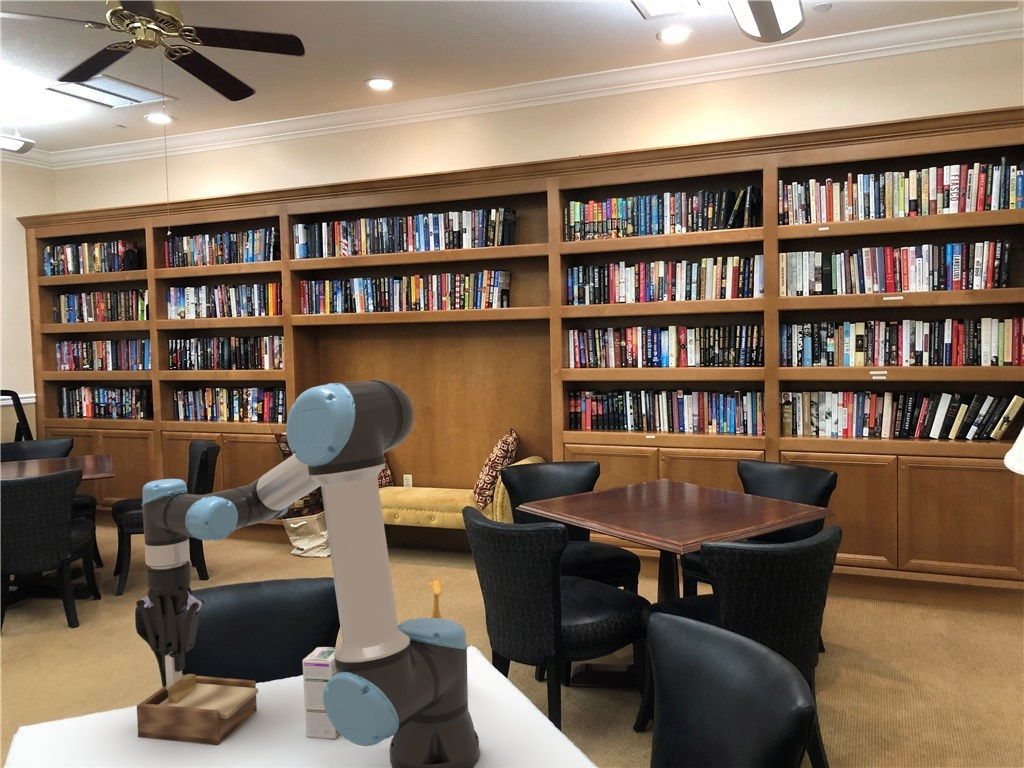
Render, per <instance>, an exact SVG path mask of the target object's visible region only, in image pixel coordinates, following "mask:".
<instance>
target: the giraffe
mask: <svg viewBox="0 0 1024 768" xmlns="http://www.w3.org/2000/svg"><path fill="white" fill-rule="evenodd" d="M439 578H440V577H439V576H437V579H435V576H433V578H432V582H428V585H429V586H430V587H431V589H432V592H433V607H432V612H431V614H430V615H428V616H427V618H440V619H443V617H442V614H441V612H440V611H441V609H440V601H439V598H440V597H439V596H441V595H442V594H443V592H442V590H443V589H442V588H443V586H444V585H445V581H441V582H440V579H439Z"/></svg>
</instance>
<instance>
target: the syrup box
mask: <svg viewBox="0 0 1024 768" xmlns="http://www.w3.org/2000/svg"><path fill="white" fill-rule="evenodd" d="M337 648H338V647H335V646H333V647H332V646H331V647H330V646H321V647H320V646H317V647H316V648H315V649H314V650H313V651H312V652H310V653H309V654H308V655H307V656H305V657H304V658H303V659H302V679H303V692H304V693H303V695H304V698H303V699H304V712H305V715H304V716H305V732H306V737H309V738H315V739H326V740H336V739H337V737H338V736H339V735H341V734H340V732H339V731H337V730H336V729H335V728H334V726H333V725H332V723H331V722H330V720H329V718H328V716H327V714H326V711H325V707H324V702H323V693H324V688H325V686H326V685H327V682H328V681H329V680H330V678H331V677H332V676H334V675H335V674H336V667H335V658H334V652H335V651H336V649H337Z"/></svg>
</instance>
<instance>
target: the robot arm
mask: <svg viewBox="0 0 1024 768" xmlns="http://www.w3.org/2000/svg"><path fill="white" fill-rule="evenodd" d="M414 423H415V409H414V404H413V402H412V400H411V398H410V396H409V395H408V393H407V392H406V391H405V390H404V389H403V388H401V387H400V386H398V384H395V383H393V382H390V381H387V380H383V379H372V380H371V379H370V380H369V379H368V380H365V381H364V380H363V381H349V382H347V381H346V382H334V383H333V382H332V383H331V382H330V383H327V384H321V385H318V386H313V387H310V388H308V389H305V391H303V392H302V393H301V394H299V396H298V397H296V399H295V402H294V404H292V405H291V407H290V409H289V412H288V415H287V420H286V426H285V427H286V430H285V431H286V432H285V433H286V440H287V444H288V447H289V449H290V452H291V453H293V454H292V455H291V456H289V457H288V458H286V459H285V460H284V461H282V462H281V463H279V464H278V465H276V466H274V467H273V468H271V469H270V470H269V471H268V472H266V473H264V474H262V476H261V477H258V478H257V479H255V480H254V481H253V482H251V483H249V484H247V485H243V486H237V487H234V488H229V489H225V490H220V491H216V492H211V493H206V494H191V493H188V488H187V483H186V481H184V479H181V478H180V479H179V478H166V479H163V478H162V479H155V480H152V481H148V482H147V483H145V484H144V485H143V487H142V503H141V507H142V509H141V510H142V521H143V523H142V524H143V533H144V534H143V535H144V554H145V558H144V560H145V565H147V567H146V569H145V570H146V571H145V573H146V585H147V587H148V590H147V595H146V596H145V597H143V598H141V599H139V600H137V601H136V606H137V608H138V610H139V612H141V616H142V621H143V623H144V627H145V631H146V634H147V637H148V642H149V645H150V646H149V647H150V650H151V651H153V652H158V653H160V655H161V666H162V667H161V669H162V671H165V681H166V685H165V686H167V690H168V688H169V687H170V686H172V685H173V684H174V683H176V682H177V681H179V680H180V679H182V675H183V670H184V669H185V668H186V661H185V660H186V658H185V657H186V656H185V655H186V654H185V653H187V652H188V651H191V649H193V648H194V647H195V644H196V638H197V631H198V626H199V620H200V615H201V610H202V609H203V607H204V605H205V603H206V602H205V600H204V599H202V598H200V599H199V600H198V599H197V598H196V597H195V596H193V591H192V589H191V586H190V584H191V581H192V575H191V574H192V573H191V570H192V569H191V568H192V567H191V562H189V560H190V558H191V555H190V539H189V538H193V539H198V540H200V541H205V542H206V541H207V542H208V541H209V542H210V541H217V542H218V541H222V540H225V539H226V538H228V536H229V535H231V534H232V533H233V532H234V531H235V530H238V529H241V528H245V527H248V526H252V525H257V524H260V523H263V522H269V521H272V520H275V519H277V518H279V517H282V516H284V515H286V514H287V512H288V511H289V508H290V506H291V505H293V504H294V503H296V502H297V501H299V500H300V499H302V498H303V497H305V496H307V495H309V494H310V493H312V492H313V491H315V490H316V489H318V488H319V487H321V488H320V490H321V496H322V497H321V498H322V504H323V510H324V517H325V524H326V530H327V531H326V532H327V537H328V538H327V540H328V546H329V554H330V555H329V556H330V561H331V567H332V574H333V583H334V589H335V597H336V598H335V599H336V604H337V610H338V618H339V619H338V620H339V625H340V633H341V642H340V644H339V645H338V646H337V647H336V648H337V649H336V651H335V652H334V658H335V667H336V674H335V675H334V676H332V677H331V678H330V680H329V681H328V682H327V685H326V686H325V688H324V693H323V702H324V707H325V711H326V714H327V716H328V718H329V720H330V722H331V723H332V725H333V726H334V728H335V729H336V730H337V731H339V732H340V734H339V735H341V736H342V737H343V738H344V739H345V740H346V741H348V742H350V743H352V744H354V745H357V746H361V747H371V746H375V745H377V744H379V743H381V742H383V741H384V740H386V739H389V738H391V737H392V738H391V741H390V745H389V763H390V765H391V767H392V768H472V767H473V766H475V764H476V763H477V762H478V760H479V758H480V739H479V736H478V733H477V732H476V730H475V726H474V722H473V719H472V717H471V714H470V711H469V710H470V709H469V701H468V698H469V695H468V694H469V693H468V692H469V691H468V689H469V687H468V648H469V647H468V645H467V635H466V630H465V628H464V627H463V626H462V625H461V624H460V623H458V622H456V621H454V620H450V619H445V618H442V619H440V618H428V617H418V618H411V619H407V620H404V621H402V622H400V623H398V618H397V617H398V616H397V610H396V601H395V596H394V588H393V581H392V574H391V565H390V559H389V552H388V544H387V537H386V536H387V535H386V531H385V523H384V522H385V521H384V515H383V509H382V507H383V506H382V502H381V493H380V486H379V479H378V477H379V475H380V473H381V471H382V470H383V469H384V468H385V467H386V458H385V453H387V452H389V451H390V450H392V449H394V448H396V447H397V446H399V445H401V444H402V443H403V442H405V441H406V439H407V438H408V437H409V435H410V434H411V432H412V430H413V428H414ZM186 610H187V613H186ZM185 615H186V616H185Z"/></svg>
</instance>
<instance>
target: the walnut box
mask: <svg viewBox="0 0 1024 768" xmlns="http://www.w3.org/2000/svg"><path fill="white" fill-rule="evenodd" d="M186 675H187V674H182V678H183V677H184V676H186ZM196 683H201V684H213V685H225V686H237V687H248V688H257V687H256V685H257V684H256V680H249V679H239V678H236V679H235V678H227V677H226V678H224V677H215V676H204V675H196ZM167 698H168V690H167V686H166V685H164V686H163V687H162V688H160V689H159V690H157V691H156V692H155V693H153V694H151V695H150V696H148V698H146V699H145V700H143V701H141V702H140V703H138V704H137V705H136V719H137V720H136V721H137V722H136V723H137V737H138V738H146V739H157V740H166V741H176V742H184V743H194V744H195V743H196V744H203V745H214V746H218V745H219V744H220V743H222V742H224V740H225V739H227V737H229V736H230V735H231V734H232V733H233V732H234V731H235V730H236V729H237V728H239V726H241V725H242V724H243V723H244V722H246V721H247V719H249V717H251V716H252V715H253V714H254V713H256V711H257V709H258V707H257V694H256V695H255V696H253V697H252V698H251V699H250V700H249V701H248V702H246V703H245V704H244V705H243V706H242V707H241V708H239V709H238V710H237V711H236V712H235V713H234V714H232V715H231V716H230V717H229V718H228V719H222V718H220V711H219V710H209V709H198V708H187V707H176V706H166V705H159V704H160V703H162V702H163V701H164V700H166V699H167Z"/></svg>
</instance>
